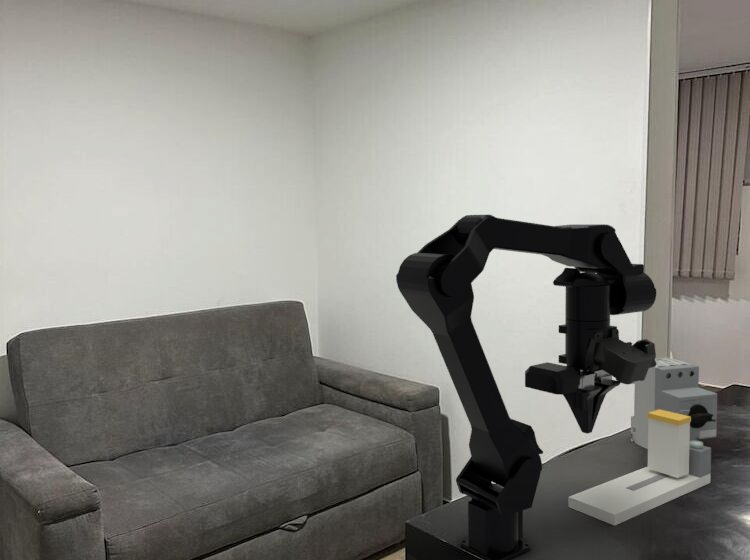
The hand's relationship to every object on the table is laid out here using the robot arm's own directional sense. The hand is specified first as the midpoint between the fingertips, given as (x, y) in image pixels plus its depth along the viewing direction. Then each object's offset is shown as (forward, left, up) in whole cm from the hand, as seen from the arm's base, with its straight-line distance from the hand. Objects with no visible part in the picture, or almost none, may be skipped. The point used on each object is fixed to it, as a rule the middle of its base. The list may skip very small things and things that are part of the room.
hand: (586, 432), depth 94 cm
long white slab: (+13, 0, -12) cm, 18 cm away
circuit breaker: (+34, +7, -12) cm, 37 cm away
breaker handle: (+20, 0, -10) cm, 22 cm away
